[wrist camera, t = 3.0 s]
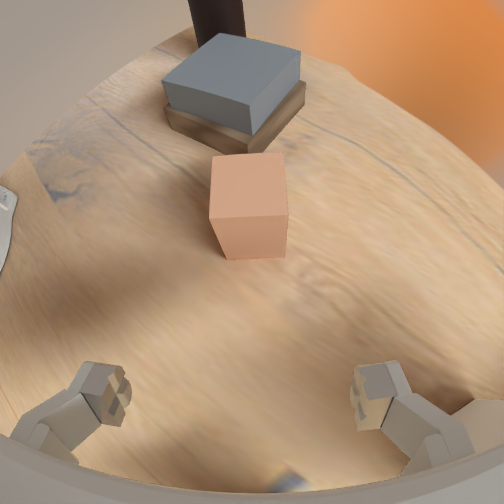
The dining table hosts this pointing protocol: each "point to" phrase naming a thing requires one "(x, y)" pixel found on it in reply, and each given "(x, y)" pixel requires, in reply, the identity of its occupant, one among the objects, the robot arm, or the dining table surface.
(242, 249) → the terracotta block
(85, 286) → the dining table surface
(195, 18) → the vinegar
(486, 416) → the milk carton
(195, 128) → the tower base block
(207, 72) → the tower top block
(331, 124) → the dining table surface
